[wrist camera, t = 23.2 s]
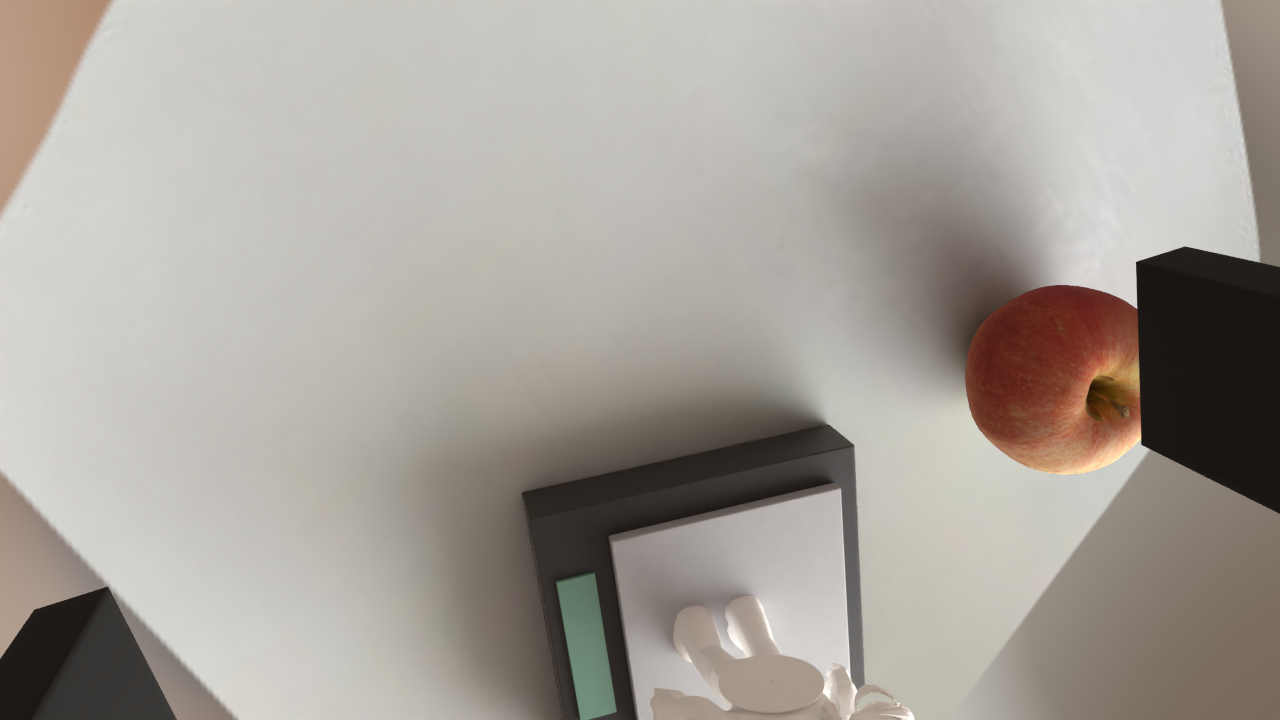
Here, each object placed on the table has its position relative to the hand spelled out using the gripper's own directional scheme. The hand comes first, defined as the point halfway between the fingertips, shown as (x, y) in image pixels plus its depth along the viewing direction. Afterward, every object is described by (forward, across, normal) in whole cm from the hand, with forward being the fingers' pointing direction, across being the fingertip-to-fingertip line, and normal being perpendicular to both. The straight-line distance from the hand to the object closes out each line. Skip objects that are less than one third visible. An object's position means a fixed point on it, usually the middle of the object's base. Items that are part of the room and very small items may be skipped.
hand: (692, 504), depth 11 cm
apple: (+25, +21, -12) cm, 35 cm away
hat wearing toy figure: (+22, +4, -18) cm, 29 cm away
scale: (+25, +4, -18) cm, 31 cm away
